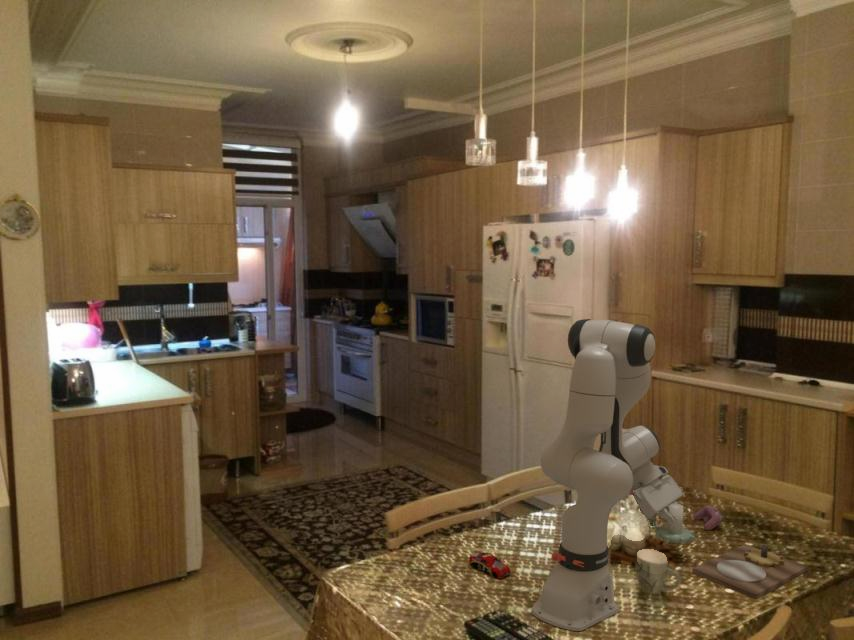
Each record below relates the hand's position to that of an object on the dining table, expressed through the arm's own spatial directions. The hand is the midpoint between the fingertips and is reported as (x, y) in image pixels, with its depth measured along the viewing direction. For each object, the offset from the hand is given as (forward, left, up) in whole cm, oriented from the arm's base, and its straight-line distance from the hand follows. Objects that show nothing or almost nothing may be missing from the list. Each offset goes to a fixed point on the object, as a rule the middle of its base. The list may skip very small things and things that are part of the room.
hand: (677, 520), depth 198 cm
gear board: (+4, -18, -11) cm, 22 cm away
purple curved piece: (+30, +2, -11) cm, 32 cm away
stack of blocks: (+24, +21, -11) cm, 34 cm away
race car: (-40, +36, -12) cm, 55 cm away
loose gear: (0, +1, -5) cm, 5 cm away
